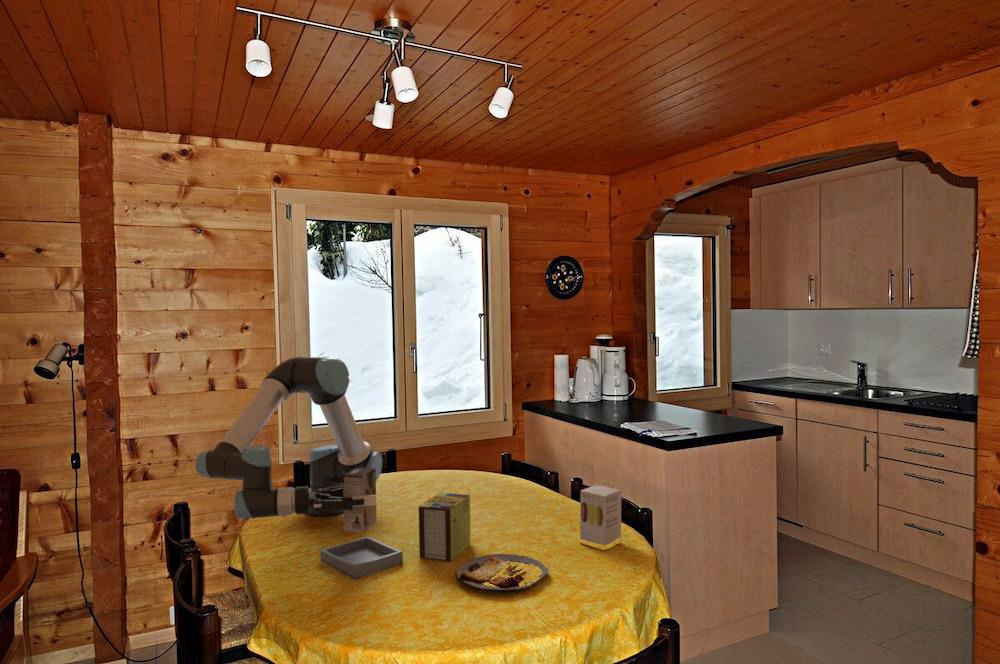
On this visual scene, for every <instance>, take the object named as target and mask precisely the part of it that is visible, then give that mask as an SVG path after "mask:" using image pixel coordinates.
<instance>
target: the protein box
mask: <svg viewBox="0 0 1000 664" xmlns="http://www.w3.org/2000/svg"><path fill="white" fill-rule="evenodd" d="M470 500H471V495H470V494H463V493H451V492H441V491H440V492H438V493H436V494H435V495H434V496H432V497H430V498H428V499H426V501H424V502H422V503H420V505H418V538H419V539H418V543H419V544H418V545H419V547H418V548H419V558H420V559H426V560H427V559H428V560H436V561H442V560H443V561H444V562H450V561H451V562H452V561H453V560H454V559H456V558H457V557H458V556H460V554H461V553H462V552H463V551H464V550H465V549H467V548H468V547H469V546H470V545H471V501H470ZM469 544H470V545H469ZM468 545H469V546H468ZM467 546H468V547H467ZM455 557H456V558H455ZM443 561H442V562H443Z"/></svg>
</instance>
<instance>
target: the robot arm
mask: <svg viewBox="0 0 1000 664" xmlns="http://www.w3.org/2000/svg"><path fill="white" fill-rule="evenodd" d="M349 377H350V373H349V369H348V367H347V365H346V364H345V362H344V361H343V360H341V359H339V358H338V357H337V358H336V357H331V356H324V357H319V356H317V357H316V356H294V357H291V358H288V359H286V360H284V361H282V362H280V363H279V364H278V365H276V366H275V367H274V368H273V369H272V370H270V371H269V373H268V374H267V375H266V376H265V377H264V378H263V380H261V382H260V389H259V390H258V391H257V392H256V394H255V395H254V396H253V397H252V398H251V400H250V401H249V403H248V405H246V407H245V408H244V409H243V410H242V412H241V413H240V414H239V415H238V417H237V418H236V420H235V421H234V423H233V424H232V425H231V426H230V428H229V429H228V430H227V431H226V432H225V434H224V435H223V437H221V439H220V440H219V442H218V443H217V445H216V446H215V447H214V448H213V449H208V450H204V451H202V452H200V453H199V454H198V455H197V458H196V459H195V464H194V465H195V466H194V467H195V470H196V473H197V474H198V475H199V476H200V477H203V478H208V479H212V480H215V479H220V480H221V479H222V480H232V481H242V482H241V483H242V489H241V490H237V491H236V492H235V493H234V494H235V495H234V514H235V516H236V518H237V519H259V518H269V517H279V516H282V518H286V516H291V515H293V514H294V513H295V515H303V514H304V515H306V514H307V513H308V514H307V515H309V514H311V515H310V516H314V515H317V516H316V517H328V516H327V515H329V516H335V515H334V514H336V515H340V514H343V513H344V510H349V511H350V510H352V506H353V507H358V506H371V505H376V506H377V494H376V495H366V496H353V497H352V498H346V497H343V475H344V474H346V473H348V472H349V471H351V470H353V469H355V468H376V469H375V473H376V482H378V479H379V477H380V475H381V473H382V469H383V457H382V454H381V453H380V452H379V451H372V448H371V446H370V444H369V443H368V442H367V441H366V440H363V437H362V435H361V433H360V430H359V428H358V425H357V422H356V420H355V417H354V415H353V413H352V410H351V408H350V405H349V402H348V400H347V398H346V393H347V390H348V388H349V384H350V378H349ZM297 393H299V394H309V396H310V399H311V401H312V403H314V405H318V406H320V408H321V412H322V414H323V416H324V418H325V421H326V423H327V425H328V427H329V430H330V432H331V434H332V436H333V440H334V442H335V444H329V445H324V446H319V447H316V448H313V449H312V450H311V451H310V453H309V461H308V463H309V486H307V485H304V486H296V487H295V488H294V487H292V486H289V487H278V488H277V487H276V488H275V487H274V488H272V487H273V486H272V463H273V462H272V456H271V449H270V447H268V445H264V444H263V445H261V444H259V445H251V444H252V443H253V441H254V440H255V439H256V437H257V436H258V434H259V433H260V432H261V430H262V429H263V427H264V426H265V425H266V424H267V422H268V421H269V419H270V418H271V417H272V415H273V414H274V413H275V411H276V410H277V408H278V407H279V405H280V404H281V403H282V402H285V401H287V400H288V399H289V397H290V396H291V395H294V394H297ZM250 445H251V446H250ZM342 512H343V513H342ZM339 513H340V514H339Z"/></svg>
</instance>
